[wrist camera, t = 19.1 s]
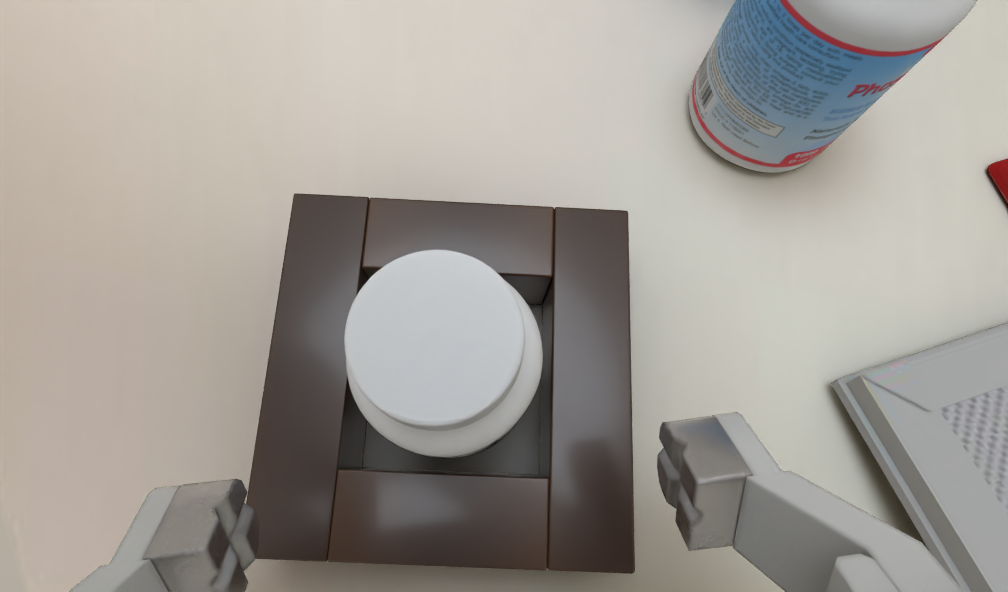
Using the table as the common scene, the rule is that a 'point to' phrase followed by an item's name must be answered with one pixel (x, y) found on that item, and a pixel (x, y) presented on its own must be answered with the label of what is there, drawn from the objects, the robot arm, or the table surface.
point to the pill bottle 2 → (806, 72)
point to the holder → (450, 494)
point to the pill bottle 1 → (442, 354)
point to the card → (1000, 176)
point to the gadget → (945, 448)
